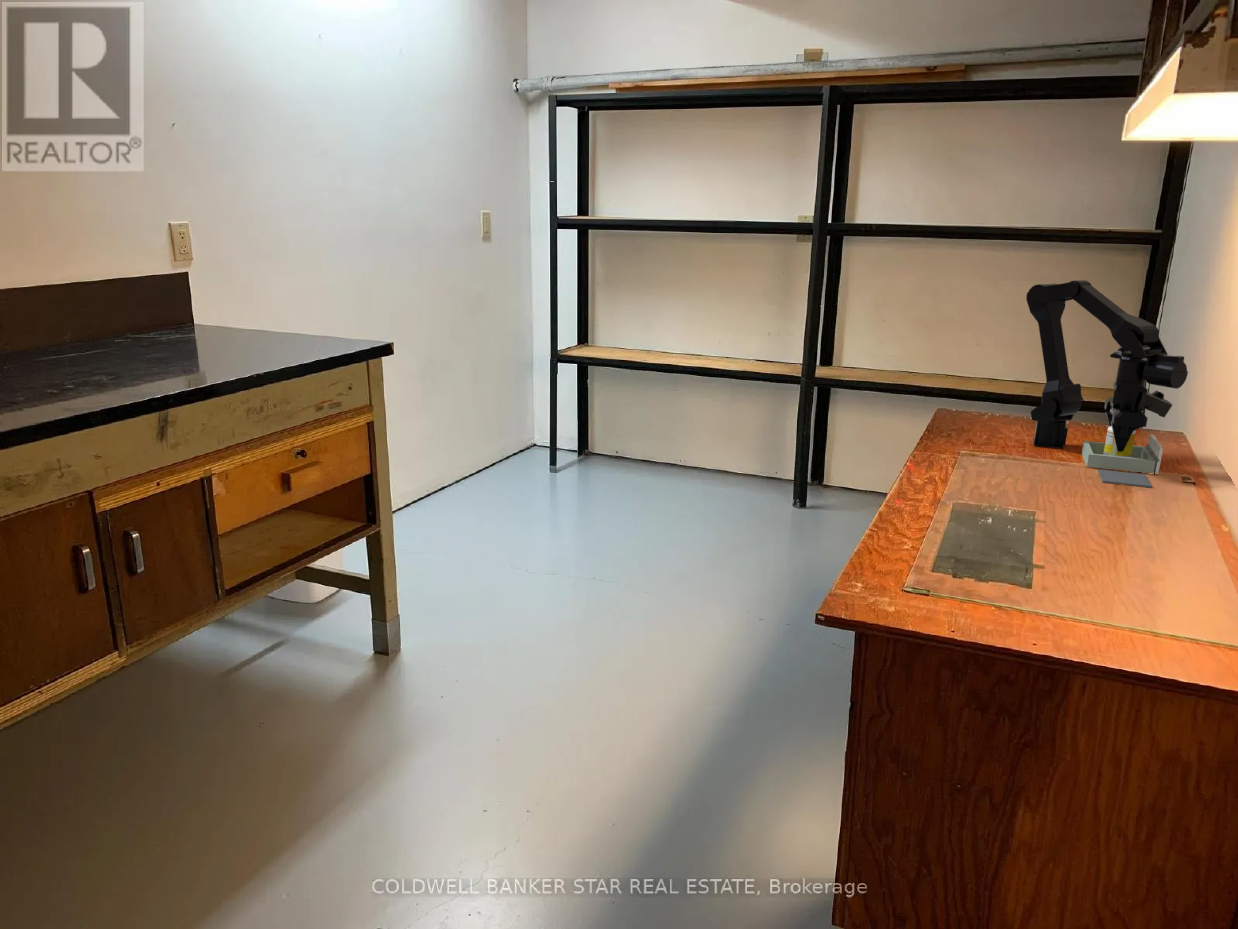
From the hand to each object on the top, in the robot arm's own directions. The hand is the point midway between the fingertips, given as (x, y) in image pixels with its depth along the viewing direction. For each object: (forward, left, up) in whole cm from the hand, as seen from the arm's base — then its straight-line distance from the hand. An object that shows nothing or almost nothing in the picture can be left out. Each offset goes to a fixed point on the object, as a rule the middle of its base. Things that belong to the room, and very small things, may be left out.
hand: (1118, 448), depth 194 cm
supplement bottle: (0, 0, -4) cm, 4 cm away
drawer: (0, 0, -4) cm, 4 cm away
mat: (0, -13, -4) cm, 14 cm away
